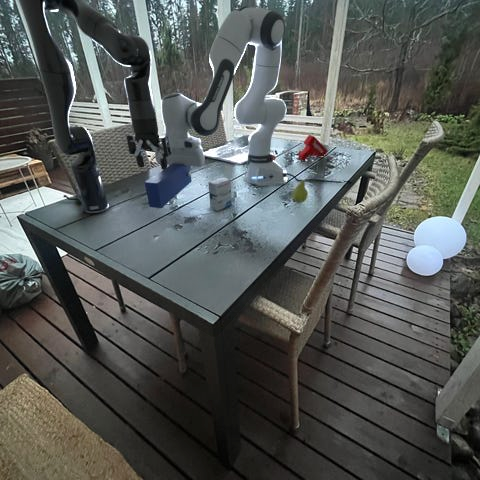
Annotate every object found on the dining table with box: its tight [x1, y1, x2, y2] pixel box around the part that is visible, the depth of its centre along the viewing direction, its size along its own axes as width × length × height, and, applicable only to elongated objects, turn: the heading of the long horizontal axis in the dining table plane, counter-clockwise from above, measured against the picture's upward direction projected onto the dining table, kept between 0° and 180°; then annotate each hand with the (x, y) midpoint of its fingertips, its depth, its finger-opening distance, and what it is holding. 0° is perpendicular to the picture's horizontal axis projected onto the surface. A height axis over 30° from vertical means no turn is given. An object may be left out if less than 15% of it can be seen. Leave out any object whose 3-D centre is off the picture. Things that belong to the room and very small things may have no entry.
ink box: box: [207, 177, 232, 212], centre depth 115 cm, size 8×5×12 cm, turn 134°
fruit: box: [291, 174, 311, 204], centre depth 118 cm, size 7×8×12 cm
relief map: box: [203, 141, 249, 165], centre depth 185 cm, size 27×35×5 cm
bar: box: [144, 163, 192, 209], centre depth 105 cm, size 27×5×9 cm, turn 166°
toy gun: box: [297, 134, 328, 162], centre depth 175 cm, size 18×4×15 cm
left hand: (153, 167), depth 92 cm, fingers open, 8 cm apart
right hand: (182, 175), depth 113 cm, fingers closed on bar, 5 cm apart
